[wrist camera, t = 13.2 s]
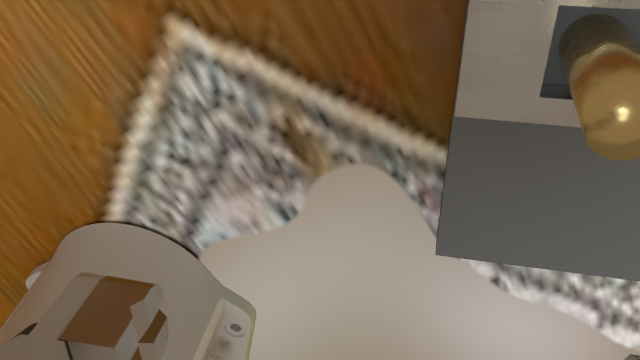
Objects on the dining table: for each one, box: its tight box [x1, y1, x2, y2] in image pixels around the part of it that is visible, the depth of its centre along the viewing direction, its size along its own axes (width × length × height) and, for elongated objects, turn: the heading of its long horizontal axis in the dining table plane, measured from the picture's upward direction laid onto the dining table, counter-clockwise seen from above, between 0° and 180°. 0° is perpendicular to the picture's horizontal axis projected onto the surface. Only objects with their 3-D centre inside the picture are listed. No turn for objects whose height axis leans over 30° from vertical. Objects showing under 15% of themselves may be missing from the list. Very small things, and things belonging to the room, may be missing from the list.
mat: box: [436, 0, 640, 281], centre depth 31 cm, size 20×12×2 cm, turn 0°
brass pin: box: [559, 14, 640, 160], centre depth 25 cm, size 3×3×8 cm
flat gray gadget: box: [454, 0, 640, 128], centre depth 28 cm, size 7×12×2 cm, turn 90°
